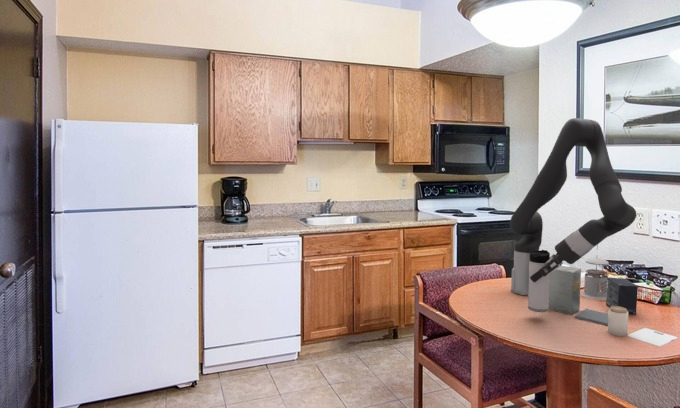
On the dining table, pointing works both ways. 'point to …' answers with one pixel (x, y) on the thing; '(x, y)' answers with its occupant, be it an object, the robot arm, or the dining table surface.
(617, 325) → the cream jar
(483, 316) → the dining table surface
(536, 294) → the travel mug
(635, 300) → the small box
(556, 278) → the box
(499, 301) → the dining table surface
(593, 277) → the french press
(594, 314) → the slate pad
